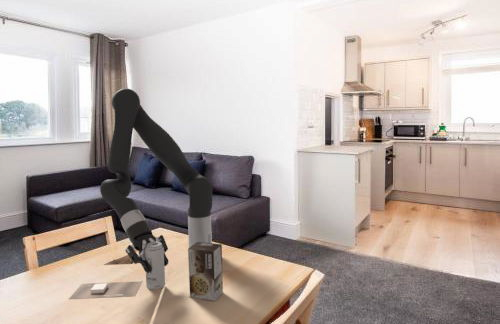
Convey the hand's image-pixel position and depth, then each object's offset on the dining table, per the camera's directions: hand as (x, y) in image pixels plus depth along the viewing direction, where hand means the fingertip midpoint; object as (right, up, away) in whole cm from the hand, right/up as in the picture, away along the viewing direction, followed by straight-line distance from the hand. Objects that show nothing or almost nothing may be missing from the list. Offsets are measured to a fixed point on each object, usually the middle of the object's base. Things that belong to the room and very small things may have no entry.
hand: (158, 268), depth 113 cm
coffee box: (+16, -8, -3) cm, 18 cm away
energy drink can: (-1, -7, +2) cm, 8 cm away
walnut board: (-16, -8, -1) cm, 18 cm away
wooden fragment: (-22, -6, +18) cm, 29 cm away
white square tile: (-19, -7, -1) cm, 20 cm away
